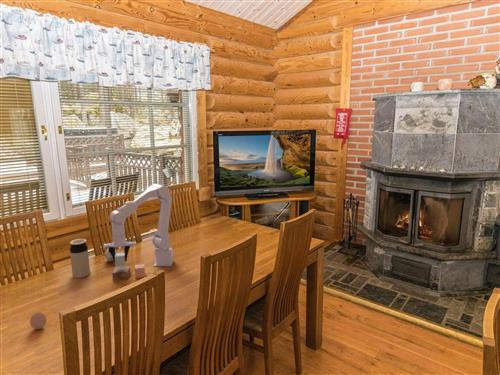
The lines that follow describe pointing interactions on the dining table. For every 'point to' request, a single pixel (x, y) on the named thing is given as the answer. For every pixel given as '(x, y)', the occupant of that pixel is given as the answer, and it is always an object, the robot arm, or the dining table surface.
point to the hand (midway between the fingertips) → (120, 260)
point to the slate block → (120, 259)
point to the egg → (38, 320)
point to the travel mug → (79, 258)
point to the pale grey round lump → (109, 255)
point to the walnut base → (121, 273)
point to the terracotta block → (140, 270)
